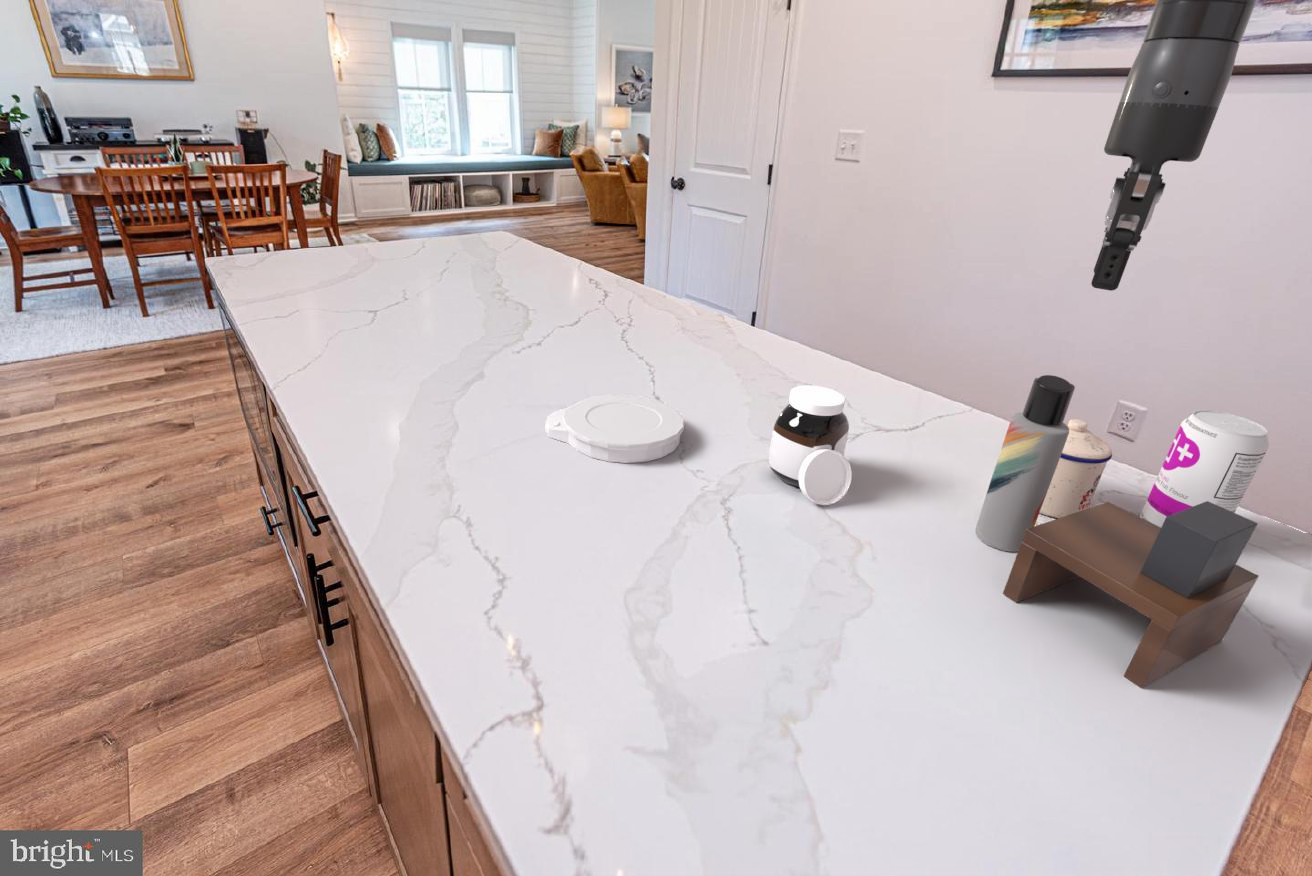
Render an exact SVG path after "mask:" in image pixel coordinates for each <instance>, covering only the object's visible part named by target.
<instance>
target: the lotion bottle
mask: <svg viewBox="0 0 1312 876" xmlns="http://www.w3.org/2000/svg"><path fill="white" fill-rule="evenodd" d="M1075 388H1076V386H1075V385H1074V384H1073V383H1071V382H1069V381H1068V380H1067V379H1065V378H1063V377H1060V376H1056V375H1052V374H1045V375H1040V376H1039V377H1035V378H1034V380H1033V383H1032V385H1031V388H1030V390H1029V394H1028V396H1027V399H1026V403H1025V405H1024V408H1023V411H1022V412H1016V413H1014V414H1013V415H1012V416H1011V419H1010V422H1009V425H1008V427H1007V431H1006V433H1005V437H1004V439H1003V442H1002V446H1001V448H1000V452H999V455H998V457H997V461H996V464H995V467H994V470H993V472H992V476H991V479H990V482H989V486H988V489H987V491H986V495H985V498H984V500H983V503H982V506H981V509H980V512H979V516H978V519H977V522H976V525H975V534H976V536H977V538H978V539H979V540H980V541H982V542H983V543H984V544H985V545H987V546H990V547H991V548H993V549H997V550H999V551H1004V552H1010V553H1011V552H1018V551H1019V548H1020V545H1021V543H1022V540H1023V537H1024V534H1025V532H1026V529H1029V528H1032V527H1035V526H1036V523H1037V520H1038V518H1039V515H1040V510H1041V507H1042V505H1043V502H1044V499H1045V497H1046V494H1047V491H1048V489H1049V486H1050V483H1051V481H1052V478H1053V475H1054V473H1055V470H1056V467H1057V465H1058V462H1059V459H1060V456H1061V454H1062V451H1063V448H1064V446H1065V443H1066V440H1067V437H1068V434H1069V428H1068V426H1067V425H1066V424H1067V423H1064V420H1065V418H1066V415H1067V411H1068V408H1069V406H1070V403H1071V400H1072V397H1073V394H1074V392H1075Z"/></svg>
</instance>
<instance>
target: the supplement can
mask: <svg viewBox="0 0 1312 876" xmlns="http://www.w3.org/2000/svg"><path fill="white" fill-rule="evenodd" d="M1268 433H1269V430H1268V429H1267V428H1266V427H1265V426H1263V425H1261V424H1260V423H1258V422H1256V421H1253V420H1252V419H1249V418H1246V417H1242V416H1239V415H1236V414H1232V413H1228V412H1224V411H1218V410H1211V409H1210V410H1209V409H1198V410H1194V411H1193V413H1192V414H1191V415H1189V416H1187V417H1186V418H1185V419H1184V420H1182V421H1181V423H1180V426H1179V428H1178V430H1177V432H1176V435H1175V437H1174V439H1173V441H1172V444H1171V445H1170V448H1169V450H1168V452H1167V453H1166V456H1165V458H1164V460H1163V463H1162V466H1161V468H1160V470H1159V473H1158V474H1157V476H1156V479H1155V481H1154V484H1153V485H1152V488H1151V490H1150V493H1149V495H1148V497H1147V498H1146V501H1145V504H1144V506H1143V508H1142V510H1141V512H1140V515H1139V517H1140V518H1142V519H1144V520H1147V521H1149V522H1151V523H1153V524H1155V525H1157V526H1159V527H1162V525H1163V523H1164V521H1165V519H1166V517H1167V516H1170V515H1172V514H1175V513H1178V512H1180V511H1183V510H1185V509H1188V508H1191V507H1193V506H1196V505H1198V504H1201V503H1204V502H1206V501H1208V502H1211V503H1213V504H1215V505H1218V506H1220V507H1222V508H1224V509H1227V510H1229V511H1231V512H1233V513H1236V511H1237V509H1238V507H1239V505H1240V503H1241V502H1242V499H1243V498H1244V496H1245V493H1246V491H1247V490H1248V488H1249V486H1250V484H1251V482H1252V480H1253V479H1254V476H1255V474H1256V472H1257V471H1258V469H1259V467H1260V465H1261V464H1262V461H1263V460H1264V457H1265V456H1266V453H1267V452H1268V449H1269V446H1270V443H1269V439H1268Z"/></svg>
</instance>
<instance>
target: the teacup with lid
mask: <svg viewBox="0 0 1312 876" xmlns="http://www.w3.org/2000/svg"><path fill="white" fill-rule="evenodd" d="M1065 424H1066V425H1067V426H1068V428H1069V434H1068V437H1067V440H1066V443H1065V446H1064V448H1063V451H1062V454H1061V456H1060V459H1059V462H1058V465H1057V467H1056V470H1055V473H1054V475H1053V478H1052V481H1051V483H1050V486H1049V489H1048V491H1047V494H1046V497H1045V499H1044V502H1043V505H1042V507H1041V510H1040V513H1039V515H1043V516H1047V517H1050V518H1053V519H1054V518H1055V519H1058V518H1061V517H1064V516H1067V515H1070V514H1073V513H1076V512H1079V511H1082V510H1085V509H1088V508H1090V505H1091V502H1092V500H1093V498H1094V496H1095V492H1096V490H1097V488H1098V485H1099V483H1100V481H1101V478H1102V475H1103V473H1104V471H1105V468H1106V466H1107V463H1108V462H1110V460H1112V457H1113V450H1112V448H1111V446H1110V444H1109V443H1108V442H1107V441H1105V440H1104V439H1102V438H1100V437H1098V436H1097V435H1095V434H1094V433H1093V432H1091V431H1090V430H1089V429H1087V428H1088V424H1087V422H1085V420H1082V419H1078V418H1077V419H1076V418H1072V419H1070V420H1068V422H1067V423H1065Z"/></svg>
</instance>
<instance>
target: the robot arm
mask: <svg viewBox="0 0 1312 876" xmlns="http://www.w3.org/2000/svg"><path fill="white" fill-rule="evenodd" d="M1256 3H1257V0H1156V1H1155V5H1154V7H1153V10H1152V13H1151V16H1150V19H1149V22H1148V25H1147V28H1146V31H1145V34H1144V36H1143V37H1144V38H1143V39H1142V40H1143V42H1142V44H1141V46H1140V49H1139V50H1138V53H1137V55H1136V57H1135V60H1134V61H1133V63H1132V65H1131V68H1130V70H1129V73H1128V75H1127V79H1126V81H1125V84H1124V87H1123V91H1122V93H1121V97H1120V100H1119V103H1118V105H1117V109H1116V111H1115V113H1114V117H1113V120H1112V124H1111V127H1110V129H1109V132H1108V135H1107V138H1106V141H1105V145H1104V147H1103V148H1104V149H1103V151H1104V153H1105V154H1106V155H1109V156H1115V157H1123V158H1124V157H1125V158H1129V159H1131V164H1130V167H1127V169H1126V170H1125V171H1124V172H1123V177H1119V176H1118V177H1117V176H1116V178H1115V180H1114V183H1113V186H1112V189H1111V192H1110V196H1109V197H1110V203H1109V206H1108V209H1107V212H1106V214H1105V220H1104V225H1105V228H1104V237H1103V239H1102V244H1101V247H1100V250H1099V253H1098V256H1097V260H1096V263H1095V265H1094V268H1093V273H1094V274H1093V276H1092V279H1091V286H1092V287H1093V288H1094V289H1100V290H1105V291H1115V290H1117V289H1118V288H1119V285H1120V283H1121V280H1122V278H1123V275H1124V272H1125V270H1126V267H1127V264H1128V261H1129V258H1130V257H1131V253H1132V252H1133V251H1134V250H1135V248H1137V247H1138V244H1139V243H1140V242H1141V240H1142V235H1141V234H1142V232H1143V231H1145V230H1147V228H1148V227H1149V224H1150V222H1151V220H1152V218H1153V217H1152V216H1153V214H1154V211H1155V207H1156V205H1157V204H1158V203H1159V202H1160V200H1161V198H1162V196H1163V193H1164V191H1165V188H1166V185H1167V184H1166V182H1165V181H1163V180H1164V179H1163V178H1162V177H1163V174H1162V173H1161V170H1162V166H1163V165H1164V164H1165V163H1167V162H1182V163H1183V162H1184V163H1185V162H1186V163H1191V162H1192V163H1193V162H1195V161H1196V160H1198V159H1199V158H1200V156H1201V154H1202V150H1203V149H1204V146H1205V144H1206V141H1207V139H1208V136H1209V134H1210V131H1211V129H1212V125H1213V123H1214V120H1215V118H1216V116H1217V113H1218V110H1219V108H1220V105H1221V102H1222V100H1223V98H1224V95H1225V93H1226V90H1227V87H1228V85H1229V82H1230V79H1231V77H1232V74H1233V70H1234V66H1235V64H1236V63H1235V62H1236V58H1237V54H1238V50H1239V48H1240V43H1241V42H1242V41H1243V40H1242V39H1243V37H1244V34H1245V33H1246V29H1247V27H1248V24H1249V21H1250V19H1251V16H1252V14H1253V12H1254V8H1255V6H1256Z"/></svg>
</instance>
